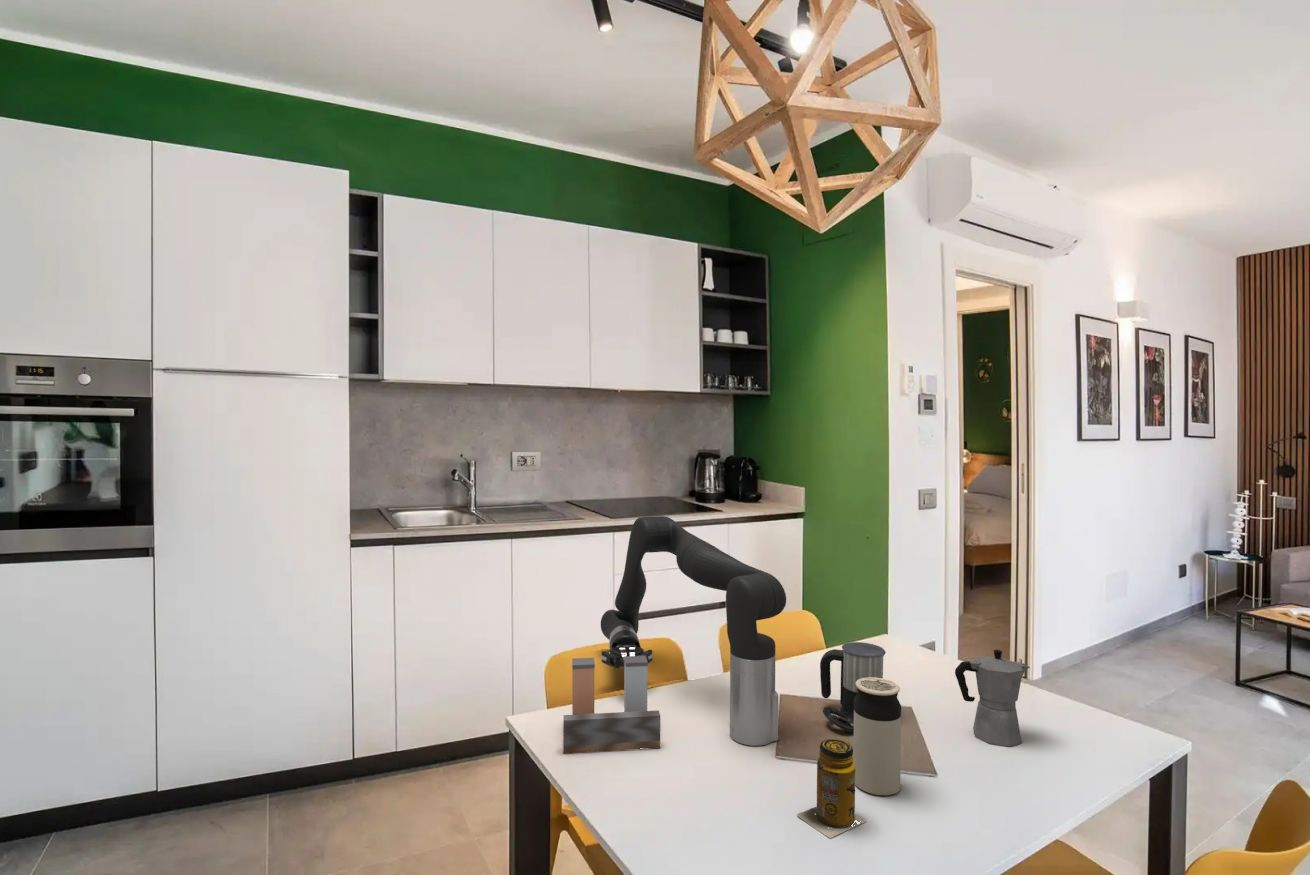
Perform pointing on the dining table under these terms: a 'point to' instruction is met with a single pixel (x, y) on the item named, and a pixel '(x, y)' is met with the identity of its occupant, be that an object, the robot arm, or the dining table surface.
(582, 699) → the orange-brown tall block
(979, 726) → the coffeepot
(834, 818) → the condiment
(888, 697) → the travel mug
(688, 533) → the robot arm
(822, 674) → the milk frother
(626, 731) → the base
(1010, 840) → the dining table surface
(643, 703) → the grey tall block
